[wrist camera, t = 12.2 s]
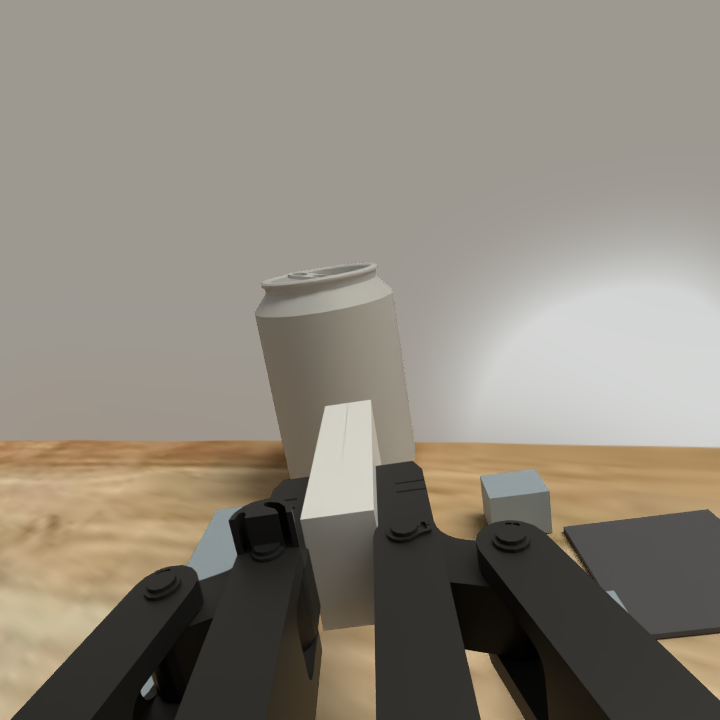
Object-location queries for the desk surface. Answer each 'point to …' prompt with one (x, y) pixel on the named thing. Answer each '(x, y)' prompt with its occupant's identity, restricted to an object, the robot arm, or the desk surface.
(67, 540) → the desk surface
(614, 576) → the trap square
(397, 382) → the can
